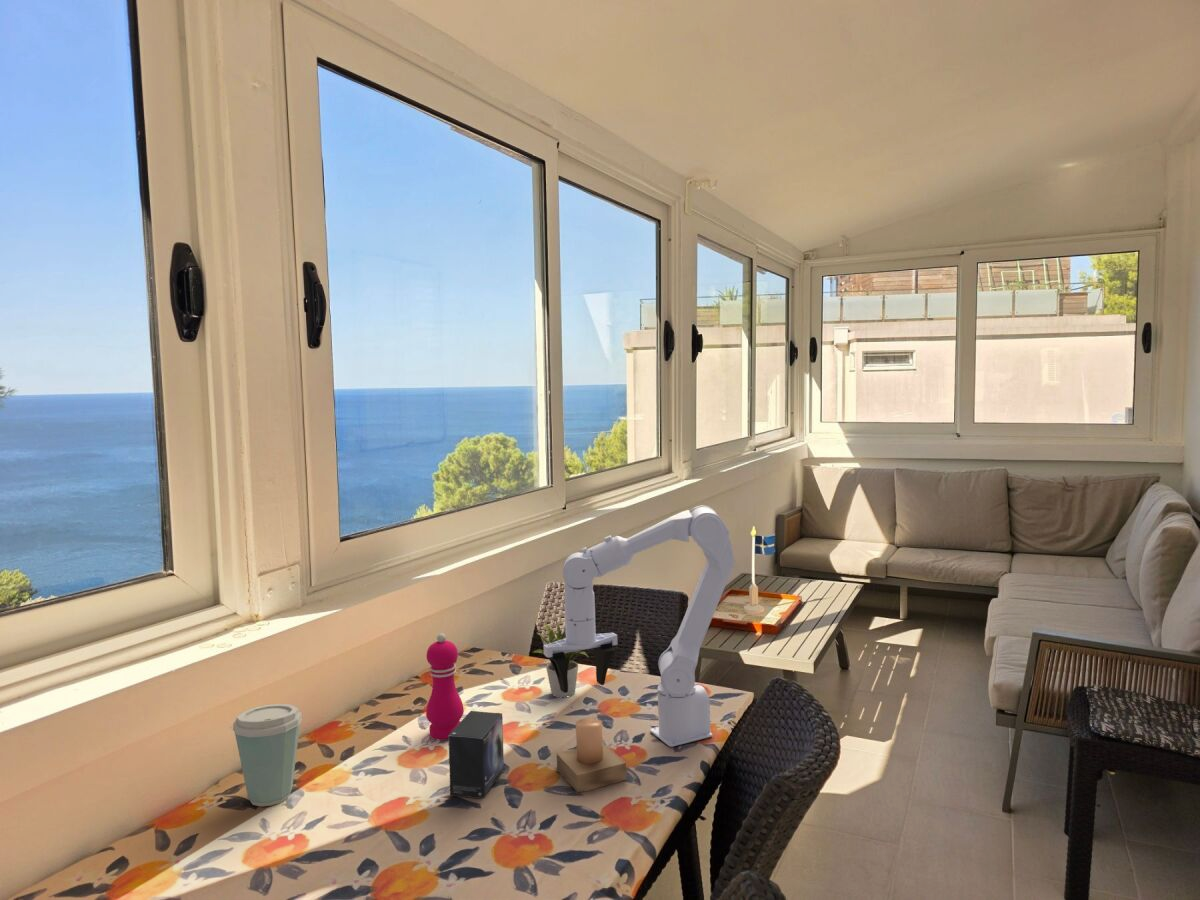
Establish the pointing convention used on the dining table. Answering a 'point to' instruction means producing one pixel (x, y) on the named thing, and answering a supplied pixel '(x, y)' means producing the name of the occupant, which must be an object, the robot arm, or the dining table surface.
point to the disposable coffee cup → (268, 751)
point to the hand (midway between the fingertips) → (582, 687)
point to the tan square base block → (591, 770)
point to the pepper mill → (443, 689)
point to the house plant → (571, 666)
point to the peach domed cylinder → (589, 740)
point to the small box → (476, 754)
